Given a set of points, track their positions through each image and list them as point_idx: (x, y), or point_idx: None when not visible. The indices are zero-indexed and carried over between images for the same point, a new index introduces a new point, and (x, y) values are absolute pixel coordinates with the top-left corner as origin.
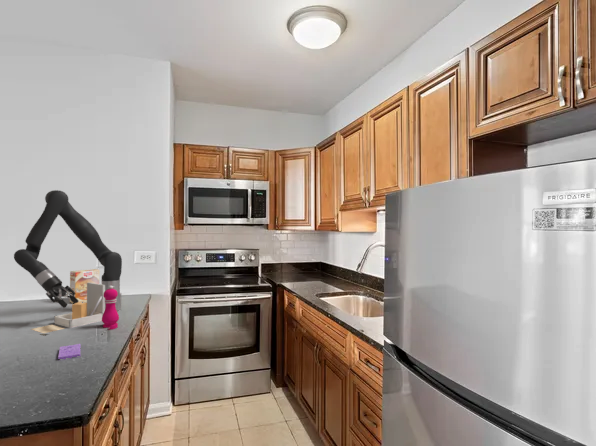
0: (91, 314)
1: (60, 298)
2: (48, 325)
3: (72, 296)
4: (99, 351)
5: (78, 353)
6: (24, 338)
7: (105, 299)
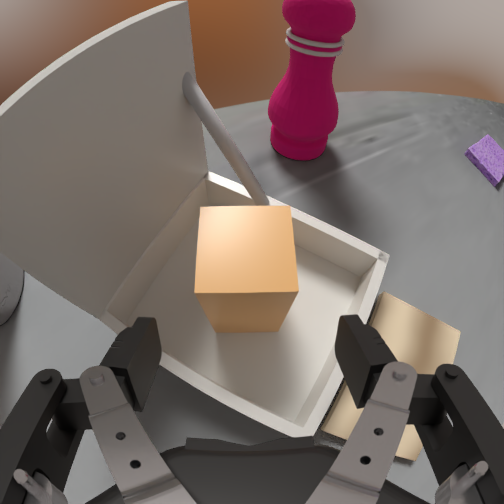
0: (265, 194)
1: (406, 367)
2: (346, 433)
3: (123, 379)
4: (455, 117)
5: (489, 137)
6: (486, 378)
7: (326, 42)
